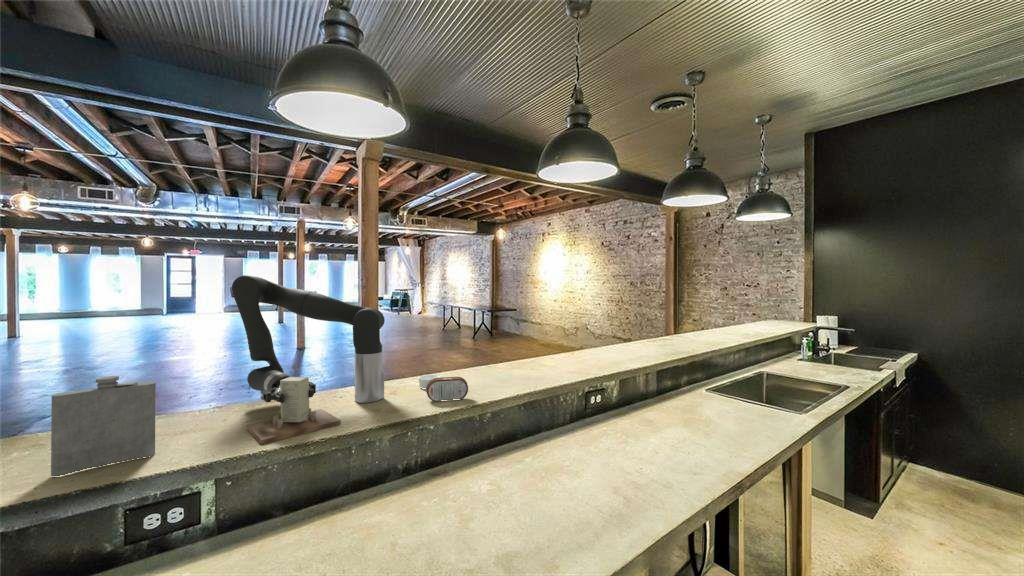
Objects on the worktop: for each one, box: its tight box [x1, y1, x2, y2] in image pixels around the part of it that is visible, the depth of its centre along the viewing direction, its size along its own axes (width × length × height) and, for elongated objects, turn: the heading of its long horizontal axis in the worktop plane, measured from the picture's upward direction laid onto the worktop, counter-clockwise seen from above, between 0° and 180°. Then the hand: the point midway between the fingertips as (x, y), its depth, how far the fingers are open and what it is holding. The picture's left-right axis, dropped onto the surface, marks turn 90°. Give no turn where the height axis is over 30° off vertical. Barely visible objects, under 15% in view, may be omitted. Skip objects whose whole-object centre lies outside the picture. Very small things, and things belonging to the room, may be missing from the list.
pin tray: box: [247, 407, 342, 446], centre depth 107 cm, size 20×15×4 cm
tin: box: [425, 376, 469, 402], centre depth 132 cm, size 15×3×8 cm, turn 106°
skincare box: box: [280, 376, 310, 422], centre depth 107 cm, size 6×4×12 cm
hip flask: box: [50, 375, 157, 477], centre depth 84 cm, size 16×4×20 cm, turn 133°
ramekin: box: [418, 374, 441, 388], centre depth 150 cm, size 9×9×4 cm
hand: (297, 396), depth 105 cm, fingers closed on skincare box, 7 cm apart
